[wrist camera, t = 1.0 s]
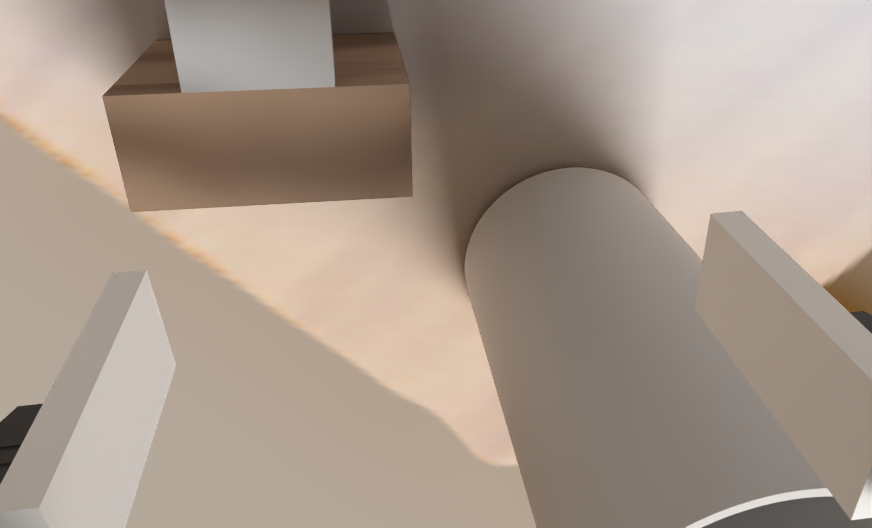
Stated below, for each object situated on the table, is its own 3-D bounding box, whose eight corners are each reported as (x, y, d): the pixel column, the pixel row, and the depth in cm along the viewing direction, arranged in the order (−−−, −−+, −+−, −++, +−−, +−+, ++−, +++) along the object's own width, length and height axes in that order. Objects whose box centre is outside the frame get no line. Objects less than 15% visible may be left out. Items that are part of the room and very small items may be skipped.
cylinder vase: (421, 267, 44) (498, 659, 23) (567, 120, 41) (824, 422, 19) (553, 365, 50) (718, 758, 28) (694, 242, 46) (1008, 588, 24)
